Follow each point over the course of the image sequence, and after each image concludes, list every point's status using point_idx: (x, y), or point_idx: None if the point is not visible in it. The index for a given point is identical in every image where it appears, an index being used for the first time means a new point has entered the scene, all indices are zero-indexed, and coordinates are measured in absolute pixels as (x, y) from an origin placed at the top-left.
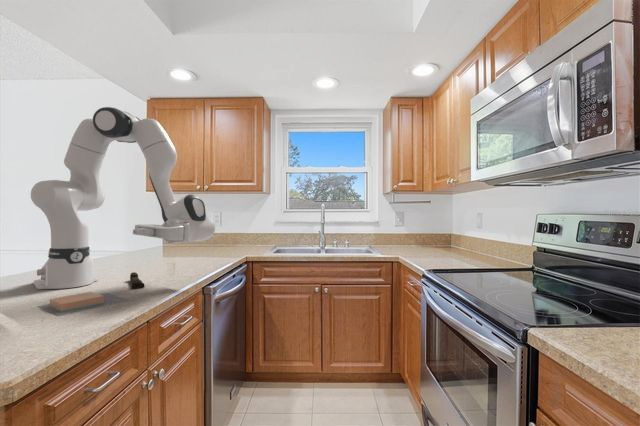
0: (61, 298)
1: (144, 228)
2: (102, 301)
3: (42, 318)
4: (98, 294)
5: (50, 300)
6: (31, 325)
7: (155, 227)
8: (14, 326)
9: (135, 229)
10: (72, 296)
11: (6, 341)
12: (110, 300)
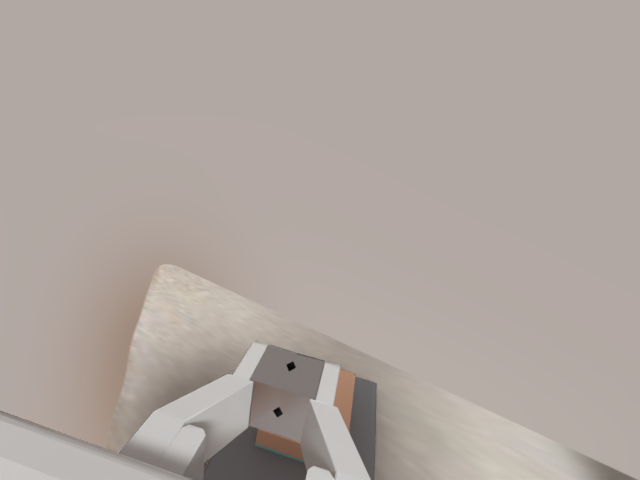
0: (338, 382)
1: (308, 472)
2: (256, 439)
3: None
4: (288, 438)
5: (350, 374)
6: (292, 342)
7: (61, 433)
8: (312, 336)
9: (306, 356)
10: (335, 402)
11: (258, 304)
12: (256, 478)
